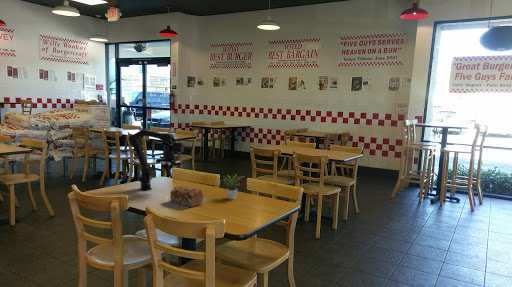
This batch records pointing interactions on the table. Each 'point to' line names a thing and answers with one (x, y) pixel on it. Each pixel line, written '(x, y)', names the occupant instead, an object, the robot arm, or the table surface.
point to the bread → (187, 196)
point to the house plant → (232, 187)
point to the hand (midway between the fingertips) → (168, 174)
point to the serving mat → (179, 206)
